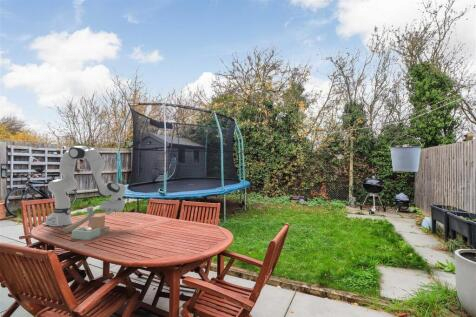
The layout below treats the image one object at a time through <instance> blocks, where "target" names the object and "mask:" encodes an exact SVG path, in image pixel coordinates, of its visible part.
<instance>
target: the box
mask: <svg viewBox="0 0 476 317" xmlns="http://www.w3.org/2000/svg"><path fill="white" fill-rule="evenodd" d="M84 229H85V226H81V227H80V226H79V227H77V228H76V229H74V230H72V231H71V240H83V241H90V240H93V239H95V238H99V237H101V235H100V228H97V229H94V230H91V231H84Z"/></svg>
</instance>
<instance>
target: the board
mask: <svg viewBox="0 0 476 317" xmlns="http://www.w3.org/2000/svg"><path fill="white" fill-rule="evenodd" d="M94 229H95V228H91V226H87V227H84V231H91V230H94ZM107 233H110V226H106V225H105V227H103V228H100V236H103V235H105V234H107Z"/></svg>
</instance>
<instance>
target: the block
mask: <svg viewBox="0 0 476 317" xmlns="http://www.w3.org/2000/svg"><path fill="white" fill-rule="evenodd" d="M94 215H95V214H94ZM105 224H106V214H105V215H102V214H96V215H95V216H91V224H90V225H91V226H90V227H91V228H95V229H97V228H103V227H105V226H106V225H105Z"/></svg>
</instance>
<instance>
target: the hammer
mask: <svg viewBox="0 0 476 317" xmlns="http://www.w3.org/2000/svg"><path fill="white" fill-rule="evenodd" d="M86 211H87V214H86V215H85V216H83V217H81V218H79V219H78V220H76V221H75V222H72V224H69V225H66V226H65V227H63V233H64V234H66V233H67V234H69V233H72V230H75V229H78V228H80V226H82V225H83V224H84V223H86V222H88V224H87V227H91V216H95V213H94V207H93V206H88V207H87V208H86Z"/></svg>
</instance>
